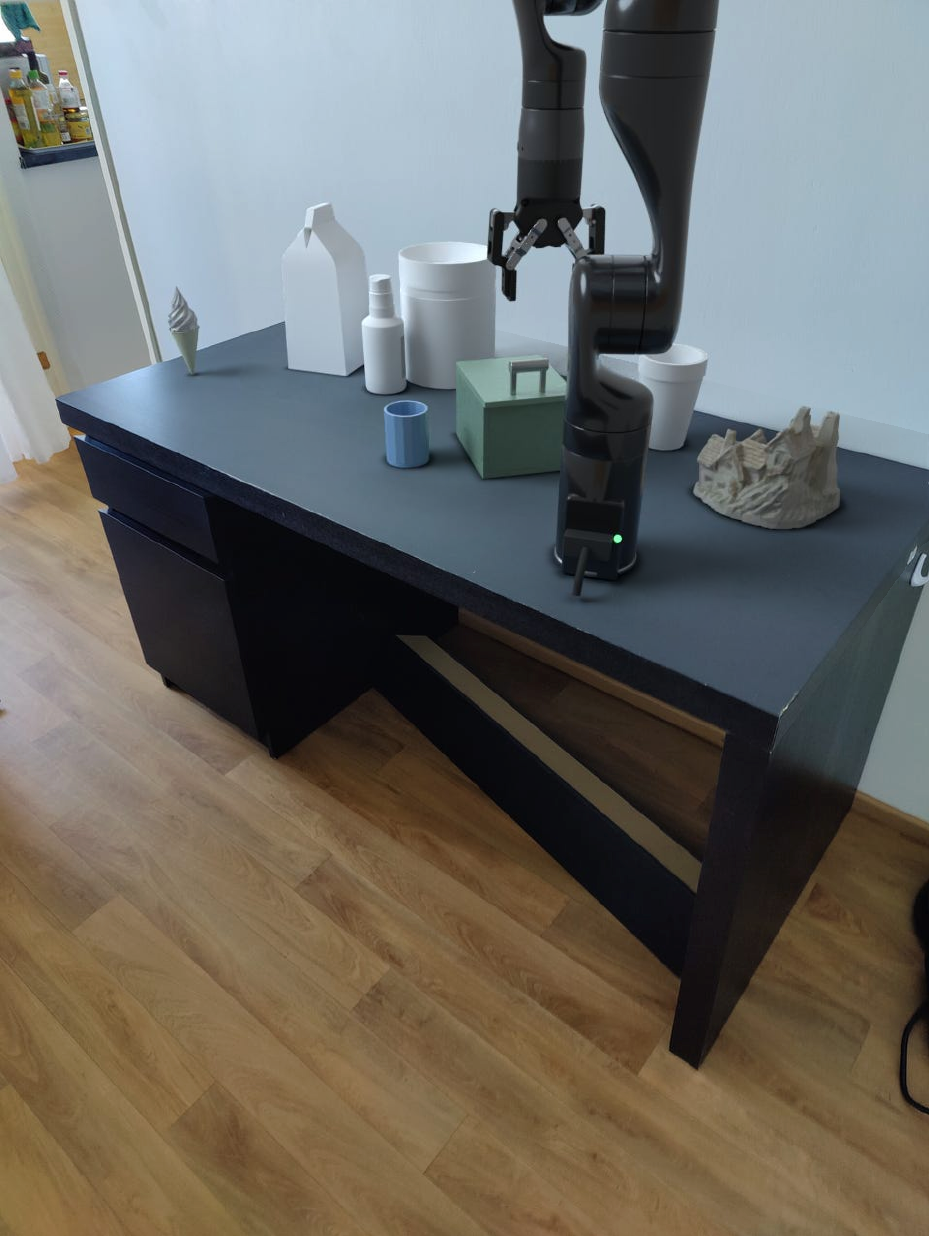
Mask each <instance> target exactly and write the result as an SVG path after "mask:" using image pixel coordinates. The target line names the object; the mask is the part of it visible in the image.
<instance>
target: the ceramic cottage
mask: <svg viewBox="0 0 929 1236" xmlns="http://www.w3.org/2000/svg"><path fill="white" fill-rule="evenodd" d="M811 409H812V407H809V406H805V405H804V406H803V405H801V406H800V408H799V409H798V410H797V412H796V414H795V415H794V417H793V418H792V419H791V420H790V424H789V426H788V427H786V428H784V429H782V430H780V431H779V432H777V433H776V434H775V435H776V436H774V438H772V439H771V440H769V442H768V441H767V438H766V436H765V431H764V429H763V428H759V429H757V430H756V431H755V432H754V433H753V434H752V435H750V436H749V437H747V438H745V439H744V440H742V441H739V440H738V441H737V431H736V430H732V429H731V428H727V431H726V433H725V436H724V437H722V436H720V435H719V434H717V433H715V434H711V437H710V438H709V439H708V440H707V443H706V444H705V446H703V448H702V449H701V451H700V453H699V454H698V456H697V458H696V462H697V463H698V464H699V466H698V481H696V483H695V485H694V488H693V492H692V493H693V494H694V496H695V497H697V498H698V499H699V498H700V500H701V501H702V503H704V504H707V505H708V506H709V507H711V509H713V510H714V512H716V513H717V512H718V513H719V514H721V515H724V516H726V517H729V518H731V519H733V520H739V521H740V520H741V522H742V523H746V524H750V525H754V526H756V527H757V526H758V527H759V526H761V528H765V529H766V528H767V529H770V530H774V529H775V530H792V529H801V528H805V527H807V526H810V525H811V524H813V523H815V522H817V520H820V519H822V518H825V517H826V516H827V515H830V514H831V513H833V512H834V511H836V510H837V509H839V508H840V502H841V489H840V487H839V486H838V483H837V481H838V474H839V473H838V472H839V470H838V469H839V468H838V464H837V463H838V462H837V459H838V457H839V453H838V451H837V450H838V449H837V448H838V443H839V441H840V433H839V432H840V431H839V428H840V420H841V419H840V418H841V415H840V413H838V412H836V411H831V410H830V411H827V412H826V413H825V415H824V416H823V418H822V419H821V423H820V425H817V424H813V423H811V420H812V415H811Z"/></svg>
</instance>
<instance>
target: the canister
mask: <svg viewBox="0 0 929 1236" xmlns="http://www.w3.org/2000/svg"><path fill="white" fill-rule="evenodd" d="M397 254H398V255H397V257H398V258H397V259H398V261H397V262H398V280H399V303H400V304H399V305H400V318H402V320H403V322H404V338H405V362H406V381H408V382H410V383H411V384H414V385H417V386H420V387H423V388H430V389H435V390H436V389H437V390H438V389H439V390H456V362H458V361H470V360H482V359H494V358H496V315H497V313H496V312H497V311H496V308H497V307H496V306H497V305H496V304H497V302H496V301H497V287H496V280H497V266H495V265H493V264H492V263H491V262H490V261H489V260H488V259H487V245H485V244H480V243H475V242H467V241H465V242H464V241H433V242H424V243H418V244H417V243H416V244H413V245H408V246H405V247H403V248H401V249H400V250H399V251H398V252H397Z"/></svg>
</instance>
